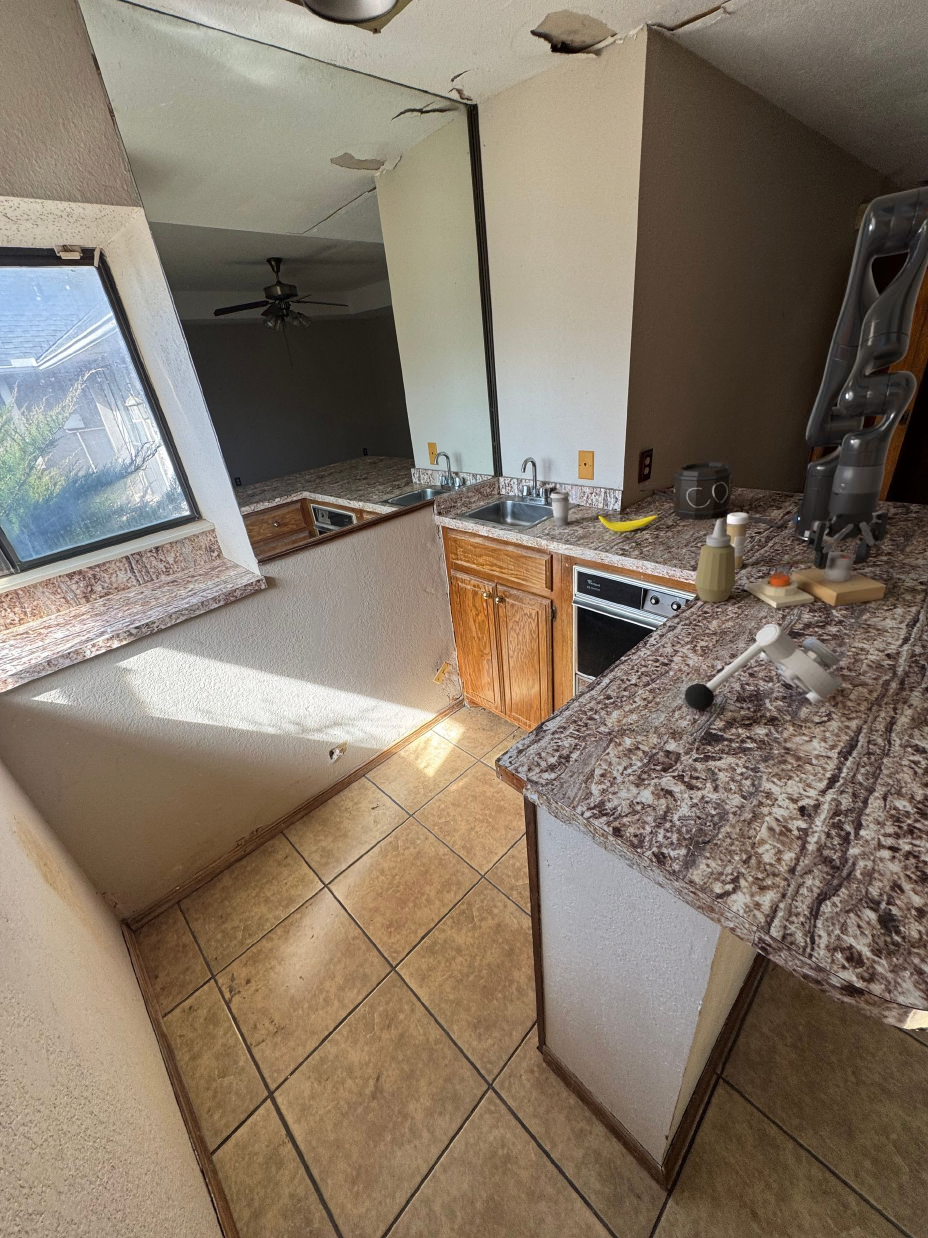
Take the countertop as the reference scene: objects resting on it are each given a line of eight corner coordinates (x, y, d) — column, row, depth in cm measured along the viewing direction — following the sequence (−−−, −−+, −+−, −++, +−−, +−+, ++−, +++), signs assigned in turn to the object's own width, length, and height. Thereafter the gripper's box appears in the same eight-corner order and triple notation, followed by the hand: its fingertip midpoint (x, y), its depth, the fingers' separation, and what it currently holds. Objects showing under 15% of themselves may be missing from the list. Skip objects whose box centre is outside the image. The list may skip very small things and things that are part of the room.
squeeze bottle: (731, 590, 110) (739, 513, 102) (736, 605, 103) (745, 524, 95) (692, 590, 113) (697, 515, 105) (695, 605, 106) (700, 526, 98)
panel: (790, 583, 109) (792, 570, 107) (833, 576, 109) (836, 563, 107) (833, 606, 97) (836, 592, 96) (882, 599, 97) (886, 584, 95)
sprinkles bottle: (719, 564, 124) (723, 513, 118) (737, 562, 124) (742, 510, 118) (727, 570, 120) (733, 517, 114) (746, 568, 119) (752, 515, 114)
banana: (657, 531, 154) (658, 512, 151) (596, 534, 161) (596, 515, 158) (657, 528, 157) (657, 509, 154) (597, 531, 163) (597, 513, 160)
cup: (573, 522, 177) (572, 489, 172) (567, 527, 173) (565, 494, 167) (555, 521, 181) (554, 489, 176) (548, 526, 176) (546, 494, 171)
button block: (744, 588, 110) (745, 576, 108) (778, 583, 110) (780, 571, 108) (775, 608, 100) (777, 595, 98) (813, 602, 100) (815, 589, 98)
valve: (722, 731, 83) (667, 681, 80) (820, 653, 78) (765, 596, 74) (757, 770, 74) (695, 716, 70) (870, 685, 68) (810, 621, 65)
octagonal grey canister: (742, 515, 156) (747, 466, 149) (686, 523, 157) (688, 474, 151) (716, 503, 172) (720, 458, 165) (666, 510, 174) (667, 466, 167)
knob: (818, 575, 103) (823, 552, 101) (838, 572, 103) (843, 549, 101) (834, 583, 99) (839, 559, 97) (855, 579, 99) (860, 555, 97)
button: (765, 582, 105) (766, 575, 104) (781, 579, 105) (782, 572, 104) (776, 588, 102) (777, 581, 101) (792, 585, 102) (794, 578, 101)
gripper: (876, 478, 96) (859, 554, 103) (806, 489, 96) (794, 564, 103) (909, 484, 90) (889, 565, 97) (834, 496, 90) (819, 576, 97)
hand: (840, 565), depth 100 cm, fingers open, 8 cm apart
